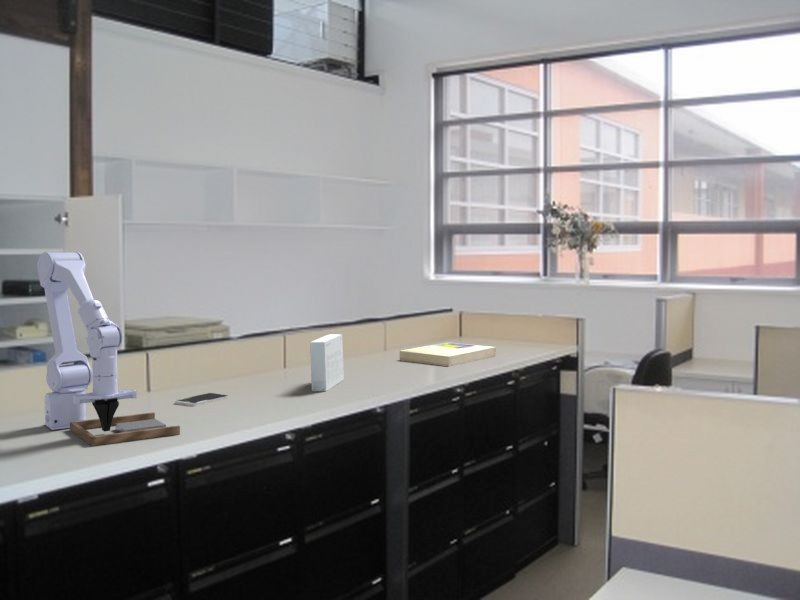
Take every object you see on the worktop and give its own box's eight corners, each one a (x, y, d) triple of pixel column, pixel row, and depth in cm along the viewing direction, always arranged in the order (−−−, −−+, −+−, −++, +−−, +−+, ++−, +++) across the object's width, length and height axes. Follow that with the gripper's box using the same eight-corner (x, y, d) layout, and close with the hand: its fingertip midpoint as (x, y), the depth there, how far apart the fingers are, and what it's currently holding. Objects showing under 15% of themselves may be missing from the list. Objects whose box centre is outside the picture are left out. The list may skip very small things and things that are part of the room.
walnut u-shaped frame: (91, 446, 189) (91, 437, 189) (70, 429, 205) (70, 422, 205) (179, 434, 202) (179, 426, 202) (153, 419, 217) (153, 412, 217)
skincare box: (328, 379, 281) (328, 333, 280) (344, 380, 280) (344, 334, 279) (309, 391, 261) (309, 341, 259) (326, 391, 260) (326, 341, 258)
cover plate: (125, 438, 199) (125, 430, 199) (115, 431, 206) (115, 423, 206) (166, 432, 205) (166, 424, 205) (154, 426, 212) (154, 418, 212)
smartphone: (229, 395, 248) (193, 403, 235) (229, 399, 248) (193, 408, 235) (209, 392, 251) (173, 400, 238) (209, 397, 252) (173, 405, 239)
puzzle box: (398, 361, 328) (448, 367, 313) (398, 350, 327) (448, 355, 313) (449, 352, 356) (497, 357, 342) (449, 342, 356) (497, 346, 342)
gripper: (78, 380, 192) (79, 437, 193) (140, 374, 201) (141, 429, 202) (70, 375, 198) (71, 431, 199) (131, 370, 206) (131, 424, 207)
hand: (105, 430), depth 201 cm, fingers closed
